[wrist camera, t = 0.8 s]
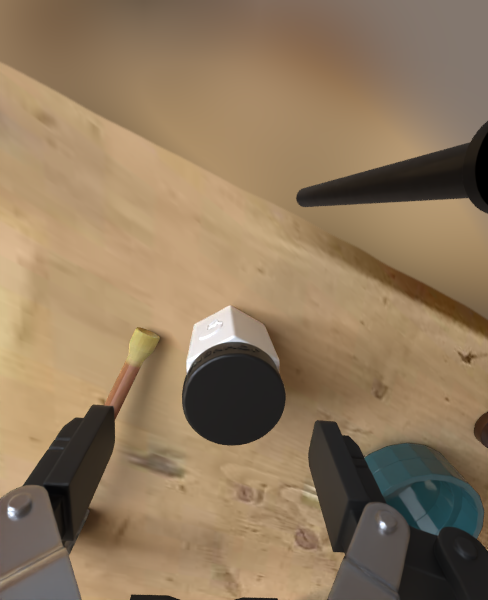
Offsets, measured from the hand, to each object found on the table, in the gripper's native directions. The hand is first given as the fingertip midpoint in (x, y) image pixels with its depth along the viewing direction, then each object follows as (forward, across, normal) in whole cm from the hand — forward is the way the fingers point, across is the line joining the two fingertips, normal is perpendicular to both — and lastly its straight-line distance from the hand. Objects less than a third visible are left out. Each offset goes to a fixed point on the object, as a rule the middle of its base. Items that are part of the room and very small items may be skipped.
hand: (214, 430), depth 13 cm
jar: (+23, -1, +8) cm, 24 cm away
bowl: (+22, -26, +27) cm, 43 cm away
